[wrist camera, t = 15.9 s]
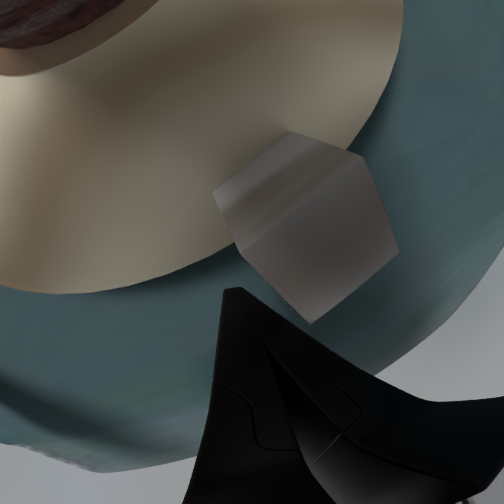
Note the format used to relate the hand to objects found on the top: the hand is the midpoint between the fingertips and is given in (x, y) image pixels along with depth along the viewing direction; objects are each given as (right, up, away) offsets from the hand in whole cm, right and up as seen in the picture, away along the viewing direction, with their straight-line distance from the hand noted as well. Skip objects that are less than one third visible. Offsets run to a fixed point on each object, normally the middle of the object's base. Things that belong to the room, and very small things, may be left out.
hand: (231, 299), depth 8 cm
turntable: (-5, +10, -4) cm, 12 cm away
